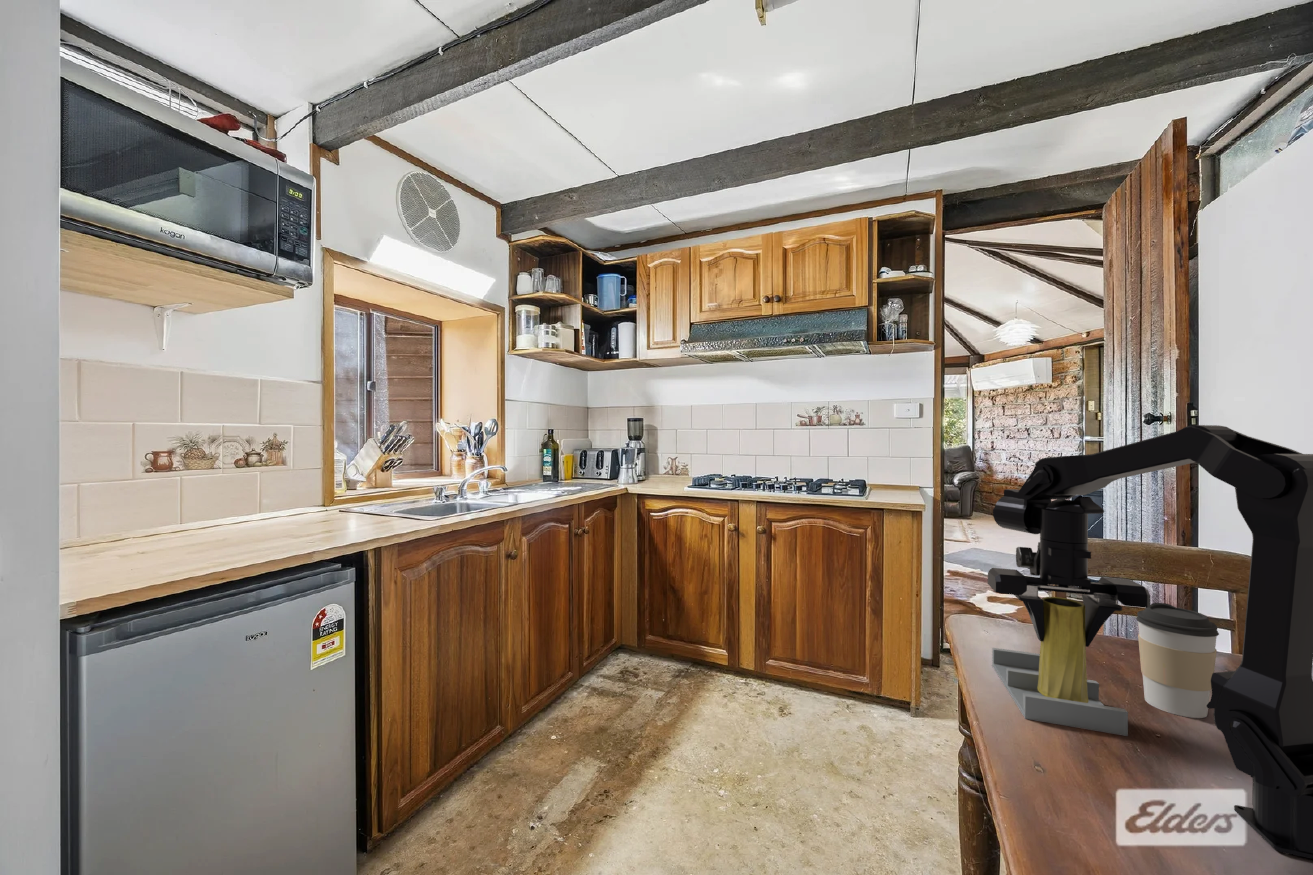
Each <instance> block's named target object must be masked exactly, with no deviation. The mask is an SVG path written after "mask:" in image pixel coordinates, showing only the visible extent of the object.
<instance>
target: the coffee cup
mask: <svg viewBox="0 0 1313 875" xmlns="http://www.w3.org/2000/svg"><path fill="white" fill-rule="evenodd" d="M1136 615H1137V616H1136V619H1135V620H1137V625H1138V634H1137V636H1138V647H1139V648H1138V649H1139V650H1138V651H1139V659H1140V661H1139V662H1140V672H1141V674H1142V683H1143V693H1144V700H1145V701H1144V702H1147V704H1149V706H1152V707H1153V708H1156V709H1158V710H1161V711H1163V712H1167V713H1169V714H1173V715H1174V716H1175V715H1176V716H1179V717H1185V718H1192V719H1202V718H1207V716H1208V710H1209V708H1207V704H1208V703H1209V702H1210V697H1211V691H1212V688H1211V677H1212V674H1213V673H1215V668H1216V661H1217V660H1216V659H1217V652H1218V651H1217V649H1216V645H1217V637H1218V636H1220V632H1218V625H1216V624H1215V623H1214V622H1212V621H1210V619H1209V618H1208V616H1207V615H1206V614H1203V613H1201V612H1198V611H1194V610H1191V609H1188V608H1186V609H1185V608H1181V607H1176V606H1174V605H1173V604H1169V603H1163V602H1153V603H1150V607H1148V608H1145V607H1144V609H1143V610H1139V611H1137V613H1136Z"/></svg>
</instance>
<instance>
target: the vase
mask: <svg viewBox="0 0 1313 875" xmlns="http://www.w3.org/2000/svg"><path fill="white" fill-rule="evenodd" d="M1041 599H1042V600H1043V607H1044V639H1043V641H1040V648H1039V654H1040V660H1039V679H1038V686H1037V689H1038V691H1039V692H1040V693H1041V694H1042V695H1043V696H1045V697H1051V698H1058V699H1064V700H1070V701H1077V702H1083V703H1088V702H1089V700H1088V694H1087V680H1088V675H1087V674H1088V673H1087V651H1086V650H1087V648H1086V640H1085V605H1084V604H1083V602H1081V601H1078V600H1074V599H1071V598H1067V597H1066V598H1065V597H1059V596H1044V597H1041Z"/></svg>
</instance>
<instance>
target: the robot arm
mask: <svg viewBox="0 0 1313 875" xmlns="http://www.w3.org/2000/svg"><path fill="white" fill-rule="evenodd" d="M1194 463H1197V464H1198V465H1199V466H1200V467H1201V468H1203V470H1205V471H1206V472H1207V473H1208V474H1209V475H1210V476H1212V477H1213V478H1216V479H1217V480H1220V481H1222V482H1224V483H1226V484H1228V485H1230V486H1232V487H1234V490H1235V499H1236V505H1237V509H1238V511H1239V514H1240V516H1242V518H1243V520H1244V522H1245V523H1246V526H1247V527H1248V529H1249V530H1250V532H1251V536H1252V544H1251V554H1250V555H1251V556H1250V557H1251V558H1250V566H1249V567H1250V568H1249V577H1248V588H1247V589H1248V590H1247V601H1246V611H1245V620H1244V621H1245V622H1244V630H1243V632H1244V633H1243V645H1242V656H1241V662H1240V663H1239V666H1238V667H1237V668H1236V669H1235V670H1231V671H1230V670H1227V671H1219V672H1218V671H1217V672H1214V673H1213V674H1212V677H1211V688H1212V689H1211V695H1210V699H1209V703H1208V704H1207V708H1208V710H1209V709H1212V710H1213V709H1214V710H1213V722H1214V724H1215V726H1216V727H1215V728H1216V729H1217V730H1218V731H1220V732H1221V733H1222V734H1223V737H1224V740H1225V742H1226V745H1227V748H1228V751H1229V753H1230V756H1231V758H1232V762H1233V765H1234V767H1235V769H1236V770H1238V771H1240V772H1242V773H1244V774H1246V775H1249V776H1250V777H1251V778H1252V791H1251V792H1252V798H1251V799H1252V800H1251V802H1252V803H1251V804H1252V807H1248V806H1243V805H1238V804H1237V805H1236V804H1235V805H1233V809H1234V810H1233V811H1234V812H1235V813H1237V814H1238V815H1239V817H1240V818H1242V819H1243V820H1244V821H1245V822H1246V824H1248V825H1249V826H1250V827H1251V828H1252V829H1253V831H1255V832H1256V833H1257V834H1258V835H1259V836H1260V835H1261V836H1262V837H1261V836H1260V837H1261V838H1262V839H1263V840H1265V842H1266V843H1268V845H1270V846H1271V847H1272V848H1273V849H1275V850H1276V851H1278V852H1280V853H1283V852H1284V854H1288V853H1290V854H1289V855H1292V854H1293V856H1298V857H1302V858H1303V857H1304V858H1307V859H1311V860H1312V859H1313V676H1312V675H1313V674H1312V673H1313V453H1302V452H1299V451H1297V450H1295V449H1292V448H1289V447H1285V446H1283V445H1278V444H1275V443H1273V442H1269V441H1266V440H1261V439H1259V438H1256V437H1253V436H1249V435H1247V434H1244V433H1242V432H1239V431H1236V430H1234V429H1231V428H1229V427H1227V426H1224V425H1217V424H1216V425H1214V424H1213V425H1210V424H1209V425H1208V424H1206V425H1205V424H1204V425H1203V424H1193V425H1187V426H1185V427H1183V428H1181V429H1179V430H1176V431H1171V432H1170V433H1165V434H1162V435H1158V436H1154V437H1151V438H1147V439H1143V440H1139V441H1135V442H1132V443H1128V444H1124V445H1120V446H1117V447H1114V448H1110V449H1107V450H1102V451H1098V452H1095V453H1089V454H1081V455H1080V454H1078V455H1061V456H1059V455H1058V456H1050V457H1049V456H1048V457H1042V458H1040V459H1039V460H1037V461H1036V462H1034V467H1033V470H1032V471H1031V473H1030V474H1029V475H1028V477H1027V478H1026V480H1025V481H1024V483H1023V485H1022V486H1021V487H1020V488H1019V489H1014V488H1013V489H1011V488H1010V489H1009V488H1008V489H1007V488H1006V489H1004V490H1003V496H1001V497H1000V498H999V499H998V500H997V502H996V503H995V504H994V507H993V508H992V517H993V520H994V521H995V523H996V525H998V527H1001V528H1002V529H1007V530H1011V531H1012V530H1013V531H1017V532H1022V533H1027V534H1032V535H1039V541H1038V543H1037V550H1036V551H1033V549H1032V548H1031V547H1026V546H1024V547H1023V546H1017V547H1016V548H1015V562H1016V564H1015V565H1016V567H1018V568H1023V569H1029V574H1030V576H1025V575H1024V574H1023V573H1021V572H1020V571H1019V570H1017V569H1013V568H1012V569H1011V568H1002V567H1000V568H999V567H991V569H989V570H988V572H987V585H988V586H989V587H990V588H991V589H992V590H993V591H994V592H995V593H998V594H1002V595H1011V596H1015V598H1017V599H1018V600H1019V601H1020V602H1022V603H1023V605H1024V607H1025V609H1026V610H1027V613H1028V615H1029V619H1030V621H1031V623H1032V626H1033V629H1034V632H1035V636H1037V639H1038V640H1039V642H1041V641H1043V639H1044V607H1043V600H1042V597H1040V596H1039V591H1046V592H1056V593H1064V594H1065V593H1067V594H1079V595H1081V598H1082V601H1083V602H1082V604H1084V605H1085V640H1086V647H1087V648H1088V647H1089V646H1090V645H1091V644H1092V642H1093V640H1094V639H1095V637H1096V636H1097V635H1098V633H1099V631H1100V629H1101V628H1102V626H1103V625H1104V624H1105V623H1106V621H1107V620H1109V618H1110V617H1111V616H1112V615H1113V613H1114V612H1122V611H1123V606H1126V607H1137V608H1144V609H1145V608H1148V607H1150V605H1151V594H1150V591H1149V590H1148V589H1147V588H1146V587H1145V586H1143V585H1142V584H1139V583H1138V582H1136V581H1134V580H1132V579H1130V578H1122V577H1109V576H1108V577H1107V576H1100V578H1099V580H1098V582H1093V581H1092V580H1091V579H1090V578H1089V575H1088V574H1089V572H1088V569H1089V567H1088V566H1089V559H1090V560H1092V551H1090V550H1089V544H1088V543H1089V540H1088V539H1089V535H1088V534H1089V515H1095V514H1099V515H1100V514H1101V515H1102V514H1103V513H1105V510H1104V509H1103V508H1102V507H1101V506H1100V505H1099V504H1098V503H1096V502H1095V501H1093V499H1092V497H1091V496H1086V495H1089V494H1091V493H1093V492H1096V491H1099V490H1101V489H1104V488H1106V487H1107V486H1108V485H1110V484H1111V483H1112V482H1115V481H1117V480H1120V479H1125V478H1129V477H1133V476H1137V475H1138V476H1139V475H1143V474H1147V473H1148V474H1149V473H1152V472H1157V471H1161V470H1166V469H1172V468H1175V467H1181V466H1185V465H1189V464H1194ZM1075 496H1077V497H1076V498H1074V497H1075ZM1072 498H1074V499H1072ZM1037 576H1038V577H1037ZM1118 602H1119V603H1120V604H1122V605H1123V606H1121V605H1120V604H1118Z"/></svg>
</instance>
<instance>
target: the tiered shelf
mask: <svg viewBox="0 0 1313 875" xmlns="http://www.w3.org/2000/svg"><path fill="white" fill-rule="evenodd" d="M991 650H992V651H991V652H992V654H991V656H992V657H991V661H992V665H991V666H992V668H993V670H994V671H995V673H996V675H997V676H998V677H999V679H1000V681H1001V682H1002V684H1003V686H1004V688H1005V689H1006V690H1007V692H1008V694H1009V695H1010V696H1011V699H1012V700H1013V701H1014V703H1015V705H1016V706H1017V708H1018V709H1019V711H1020V713H1021V714H1022V716H1023V717H1024V719H1025V720H1030V721H1037V722H1041V723H1042V722H1043V723H1047V724H1054V725H1059V726H1060V725H1061V726H1065V727H1072V728H1078V729H1084V730H1089V731H1096V732H1102V733H1107V734H1112V735H1113V734H1114V735H1120V736H1125V737H1128V736H1129V731H1128V730H1129V712H1128V711H1127V710H1126V709H1125V708H1122V707H1117V706H1116V707H1114V706H1108V705H1104V704H1103V703H1102V701H1101V700H1100V683H1099V682H1098V681H1097V680H1092V679H1087V694H1088V700H1089V702H1088V703H1083V702H1077V701H1070V700H1064V699H1058V698H1051V697H1045V696H1043V695H1042V694H1041V693H1040V692H1039V691H1038V689H1037V686H1038V679H1039V660H1040V653H1037V652H1029V651H1022V650H1013V649H1007V648H1006V649H1005V648H998V647H991Z"/></svg>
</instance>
